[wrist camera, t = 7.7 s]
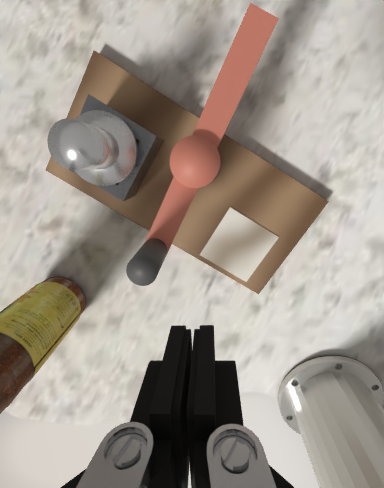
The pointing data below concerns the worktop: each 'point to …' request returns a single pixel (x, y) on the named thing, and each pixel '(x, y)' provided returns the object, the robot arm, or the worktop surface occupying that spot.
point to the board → (208, 197)
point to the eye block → (146, 152)
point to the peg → (94, 147)
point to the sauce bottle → (35, 331)
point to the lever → (203, 143)
